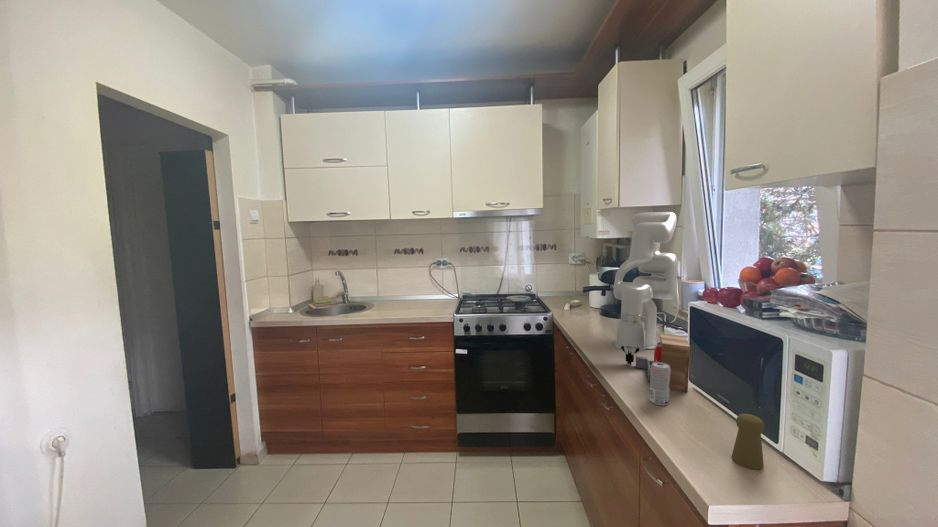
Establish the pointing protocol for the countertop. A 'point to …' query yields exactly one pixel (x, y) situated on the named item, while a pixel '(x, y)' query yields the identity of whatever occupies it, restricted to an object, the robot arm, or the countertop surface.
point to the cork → (749, 442)
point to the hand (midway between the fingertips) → (629, 363)
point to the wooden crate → (676, 360)
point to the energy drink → (660, 383)
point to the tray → (644, 365)
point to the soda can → (658, 352)
